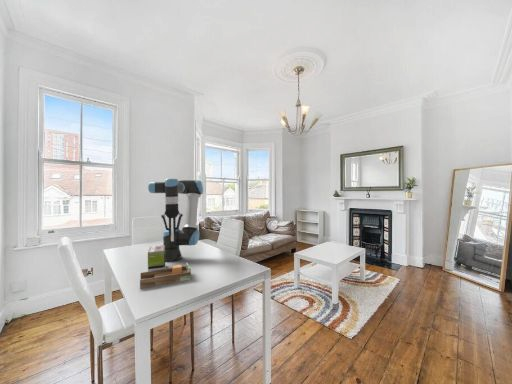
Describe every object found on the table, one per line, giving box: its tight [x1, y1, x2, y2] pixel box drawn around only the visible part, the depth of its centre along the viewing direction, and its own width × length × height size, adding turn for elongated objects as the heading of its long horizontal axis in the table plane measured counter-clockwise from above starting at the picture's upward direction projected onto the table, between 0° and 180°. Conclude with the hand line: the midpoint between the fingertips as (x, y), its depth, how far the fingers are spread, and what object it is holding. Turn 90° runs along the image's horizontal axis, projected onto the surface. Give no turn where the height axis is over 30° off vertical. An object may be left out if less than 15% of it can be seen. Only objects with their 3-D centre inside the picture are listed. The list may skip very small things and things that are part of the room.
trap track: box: [139, 262, 192, 289], centre depth 131 cm, size 12×27×6 cm, turn 116°
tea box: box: [147, 245, 166, 272], centre depth 147 cm, size 15×10×15 cm, turn 21°
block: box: [171, 264, 182, 274], centre depth 136 cm, size 5×5×4 cm
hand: (172, 240), depth 137 cm, fingers closed
